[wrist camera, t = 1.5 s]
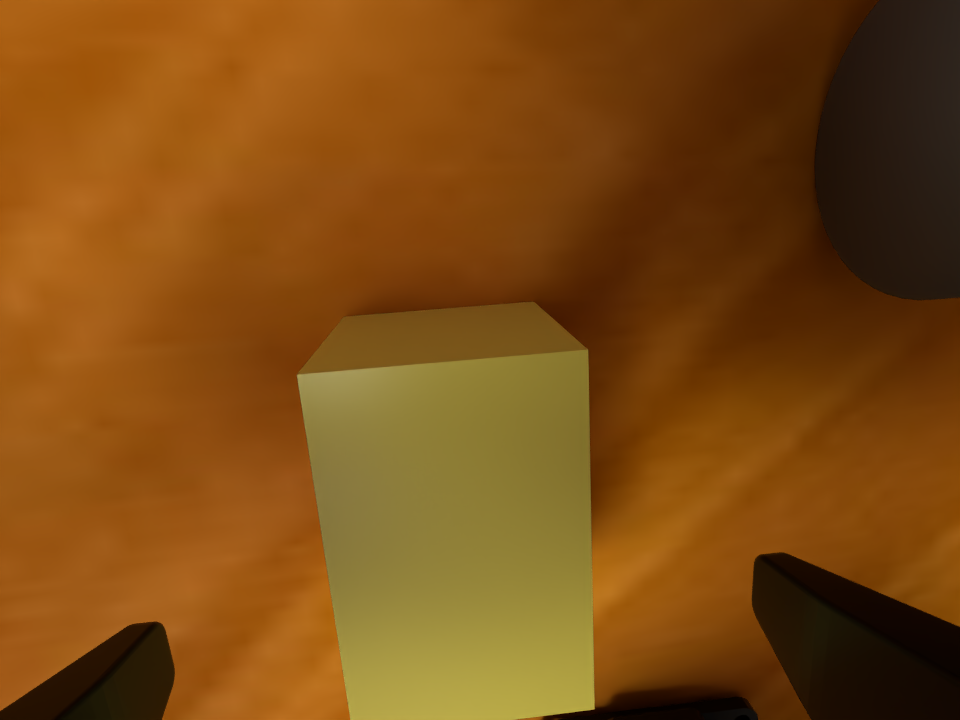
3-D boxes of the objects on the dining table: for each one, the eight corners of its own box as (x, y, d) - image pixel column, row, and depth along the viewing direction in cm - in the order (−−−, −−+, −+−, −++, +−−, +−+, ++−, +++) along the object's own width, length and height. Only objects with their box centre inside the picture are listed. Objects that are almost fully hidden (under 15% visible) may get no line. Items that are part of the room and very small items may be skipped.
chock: (543, 554, 16) (594, 709, 11) (378, 572, 15) (354, 739, 10) (533, 300, 14) (587, 349, 9) (344, 315, 13) (296, 374, 9)
